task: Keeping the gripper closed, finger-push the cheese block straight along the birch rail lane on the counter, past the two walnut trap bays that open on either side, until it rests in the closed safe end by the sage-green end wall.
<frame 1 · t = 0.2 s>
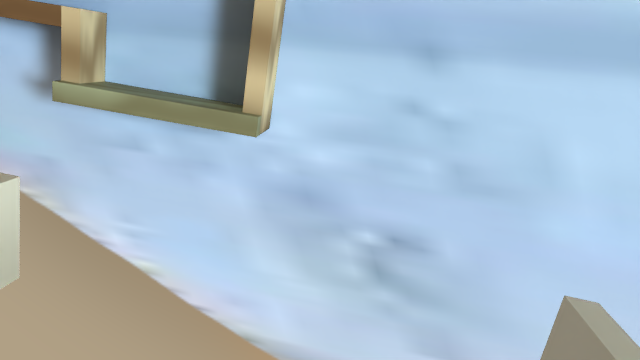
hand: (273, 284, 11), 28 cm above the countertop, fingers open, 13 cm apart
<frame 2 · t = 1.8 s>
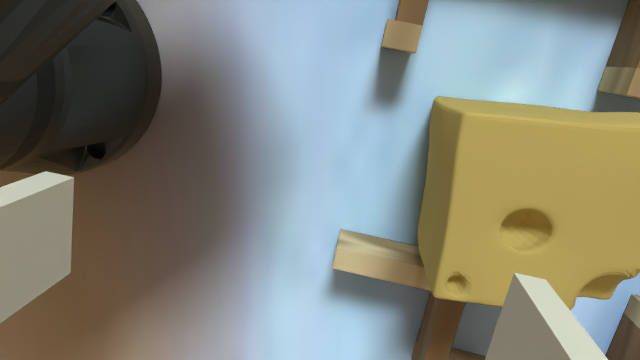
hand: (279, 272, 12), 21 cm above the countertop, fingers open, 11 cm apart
cheese: (495, 171, 31), resting in trap lane
trap lane: (563, 186, 31), on the countertop
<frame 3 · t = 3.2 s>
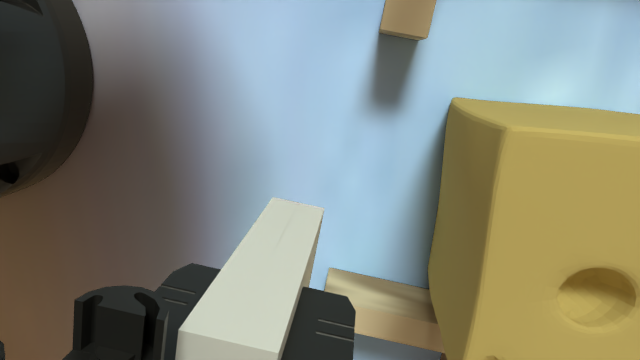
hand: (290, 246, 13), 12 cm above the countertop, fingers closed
cheese: (528, 193, 24), resting in trap lane
trap lane: (618, 213, 24), on the countertop
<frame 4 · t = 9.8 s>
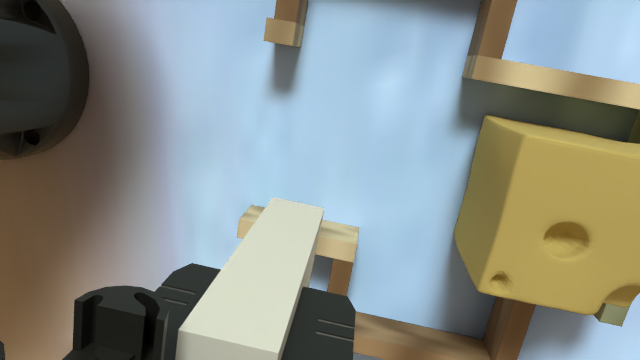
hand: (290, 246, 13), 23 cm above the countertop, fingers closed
cheese: (529, 186, 35), resting in trap lane
trap lane: (440, 162, 35), on the countertop
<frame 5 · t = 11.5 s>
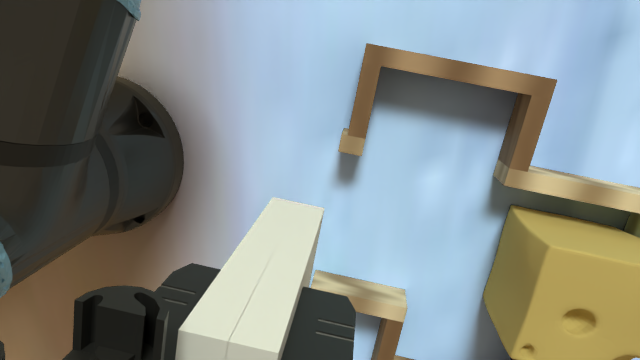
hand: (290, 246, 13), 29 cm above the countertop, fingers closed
cheese: (545, 260, 43), resting in trap lane
trap lane: (473, 240, 43), on the countertop
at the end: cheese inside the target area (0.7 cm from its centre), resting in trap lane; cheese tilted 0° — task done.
